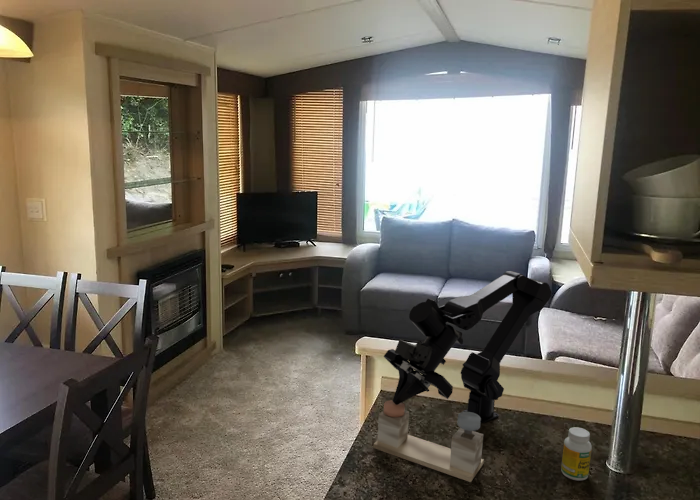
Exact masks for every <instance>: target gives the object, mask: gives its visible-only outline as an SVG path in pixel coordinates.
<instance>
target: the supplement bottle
mask: <svg viewBox="0 0 700 500" xmlns="http://www.w3.org/2000/svg"><path fill="white" fill-rule="evenodd" d="M590 435H591V434H590V432H589V431H588V430H586V429H585V428H582V427H578V426H576V427H574V426H573V427H570V428H569V430H568V436H567V437H565V439H564V440H563V441H564V442H563V449H562V450H563V451H562V458H561V465H560V467H561V473H562V474H563V475H564V476H565V477H566V478H568V479H570V480H573V481H578V482H579V481H580V482H581V481H585V480H587V479H588V478H589V474H590V473H589V471H590V467H591V465H590V464H591V458H592V449H593V446H592V443H591V442H590V437H591V436H590Z"/></svg>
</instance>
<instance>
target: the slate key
mask: <svg viewBox="0 0 700 500" xmlns="http://www.w3.org/2000/svg"><path fill="white" fill-rule="evenodd" d="M480 421H481V418H480V416H479V415H477V414H475V413H472V412H463V411H461V412H460V413H458V414H457V421H456V422H457V423H456V425H457V426H458V428H459V429H460V428H462V429H464V433H466V434H472V431H474V432H476V431H478V430H479V429H480V428H481V422H480Z"/></svg>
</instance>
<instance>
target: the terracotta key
mask: <svg viewBox="0 0 700 500" xmlns="http://www.w3.org/2000/svg"><path fill="white" fill-rule="evenodd" d="M405 408H406V404H405V402H404V401H403V402H402V403H400V404H398V405H396V404H395V403H394V402H393V399H389V400H386V401H384V403H383V410H384V413H385V414H386V415H388V416H390V417H400V416H403V415H404V413H405V411H406V410H405Z"/></svg>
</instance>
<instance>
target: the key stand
mask: <svg viewBox="0 0 700 500" xmlns="http://www.w3.org/2000/svg"><path fill="white" fill-rule="evenodd" d="M409 421H410V411H408V410H405V413H404V415H403V416H400V417H390V416H388V415H386V414H385V413H384V409H383V410H382V411H381V412H379V413H378V421H377V424H378V426H377V440H376V441H375V442H374V443H373V445H372V446H373V449H375V450H378V451H381V452H384V453H387V454H389V455H393V456H395V457H398V458H401V459H404V460H407V461H409V462H412V463H415V464H418V465H421V466H423V467H426V468H429V469H432V470H435V471H438V472H441V473H442V474H443V473H444V474H447V475H449V476H452V477H455V478H458V479H460V480H464V481H466V482H469V483H472V481H473V479H474V478H475V477H476V475H477V474H478V473H479V471H480V469H481V468H482V467H483V466H484V463H485V459H484V458H482V453H483V443H484V433H480V432H477V431H472V434H466V433H464V429H462V428H460V427H459V428H458V430H457V431H456V432H455V433H454V434H453V435H452V436H451V444H450V445H451V446H450V447H451V448H450V447H447V446H444V445H441V444H439V443H438V444H437V443H435V442H432V441H428V440H425V439H422V438H420V437H418V436H417V437H416V436H413V435H410V434H409Z"/></svg>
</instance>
